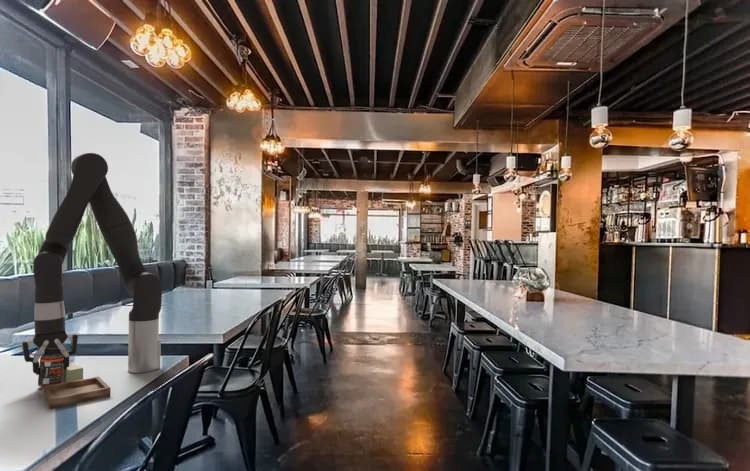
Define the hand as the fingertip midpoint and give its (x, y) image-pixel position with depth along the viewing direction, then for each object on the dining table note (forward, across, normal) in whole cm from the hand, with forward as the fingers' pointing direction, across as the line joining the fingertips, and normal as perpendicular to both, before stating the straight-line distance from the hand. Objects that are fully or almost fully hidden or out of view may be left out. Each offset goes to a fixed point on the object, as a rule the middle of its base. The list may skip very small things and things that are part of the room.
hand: (51, 371), depth 135 cm
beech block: (+5, -5, -7) cm, 10 cm away
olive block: (0, -5, 0) cm, 5 cm away
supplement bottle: (+4, 0, 0) cm, 4 cm away
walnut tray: (+5, -4, +15) cm, 16 cm away
